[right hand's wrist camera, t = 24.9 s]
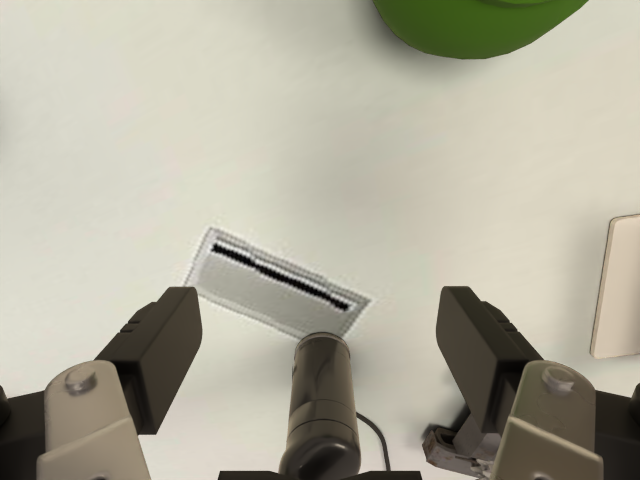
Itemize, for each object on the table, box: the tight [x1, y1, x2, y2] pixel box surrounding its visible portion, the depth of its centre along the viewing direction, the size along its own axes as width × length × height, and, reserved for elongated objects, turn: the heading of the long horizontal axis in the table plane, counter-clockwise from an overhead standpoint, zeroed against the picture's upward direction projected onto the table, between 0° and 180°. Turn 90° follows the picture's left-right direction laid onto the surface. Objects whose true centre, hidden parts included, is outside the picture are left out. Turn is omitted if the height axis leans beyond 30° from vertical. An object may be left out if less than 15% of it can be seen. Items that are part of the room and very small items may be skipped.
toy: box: [422, 413, 501, 480], centre depth 58 cm, size 25×20×15 cm
